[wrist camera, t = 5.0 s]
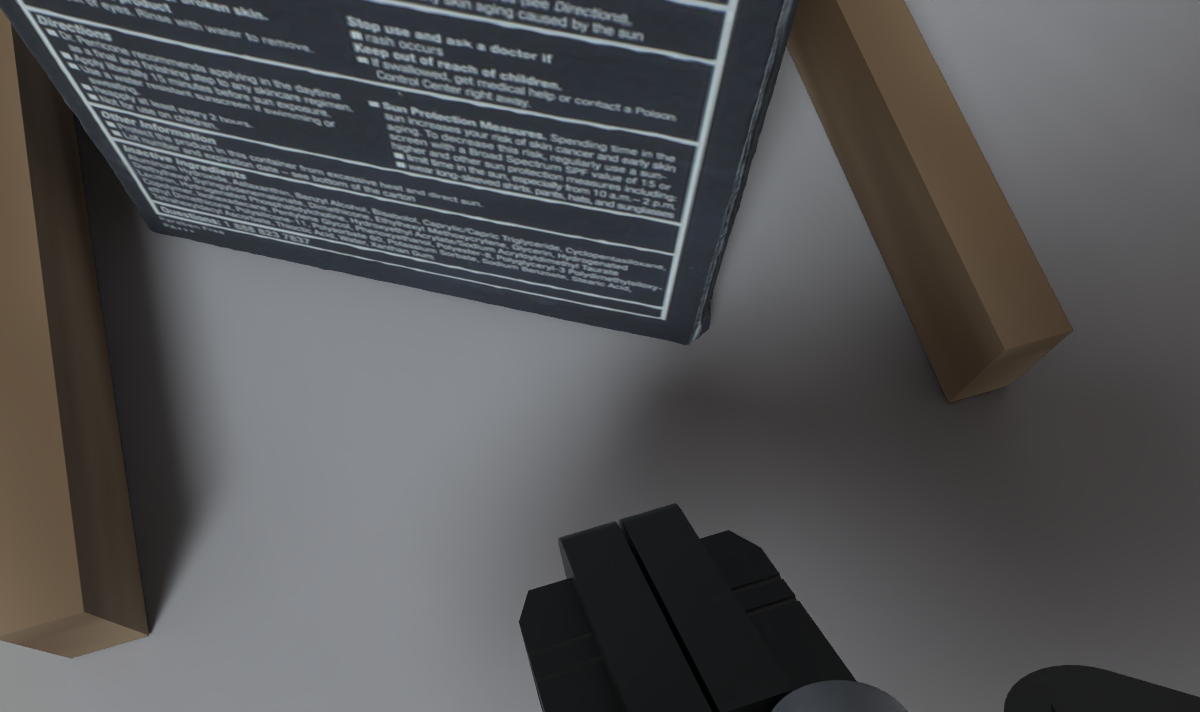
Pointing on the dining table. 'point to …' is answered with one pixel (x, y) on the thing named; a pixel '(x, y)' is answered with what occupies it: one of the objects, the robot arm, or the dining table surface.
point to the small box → (437, 137)
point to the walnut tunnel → (80, 356)
